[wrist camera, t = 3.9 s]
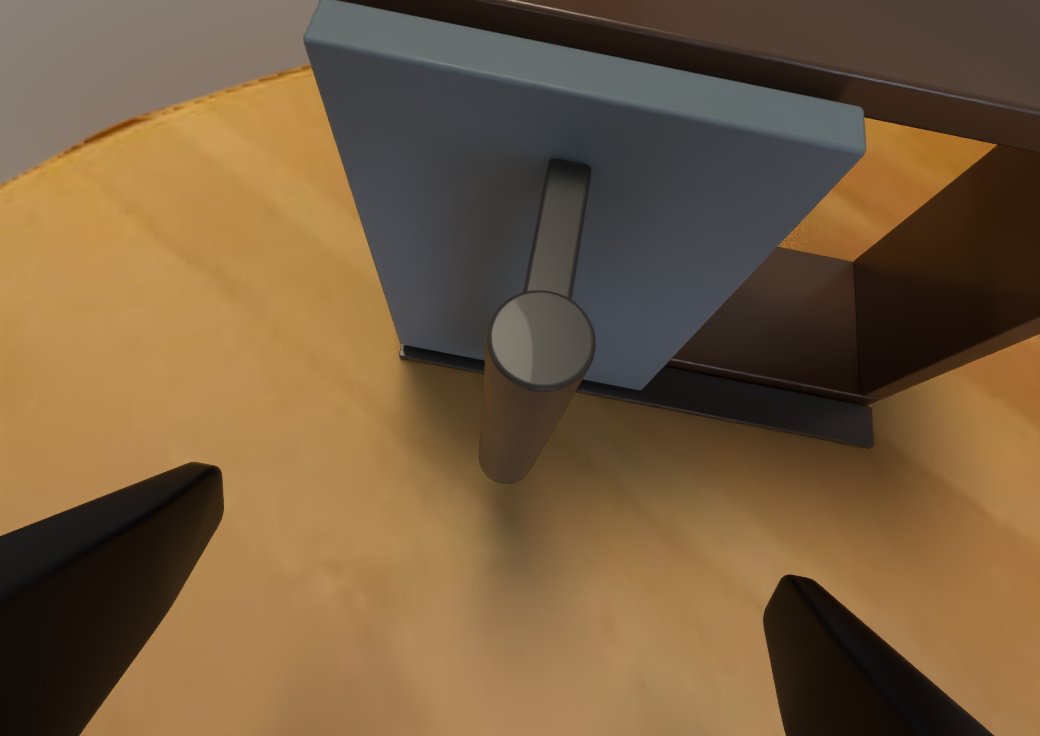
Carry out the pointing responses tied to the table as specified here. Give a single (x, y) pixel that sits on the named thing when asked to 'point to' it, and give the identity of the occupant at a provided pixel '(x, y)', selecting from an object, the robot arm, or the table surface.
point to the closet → (888, 263)
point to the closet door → (559, 201)
